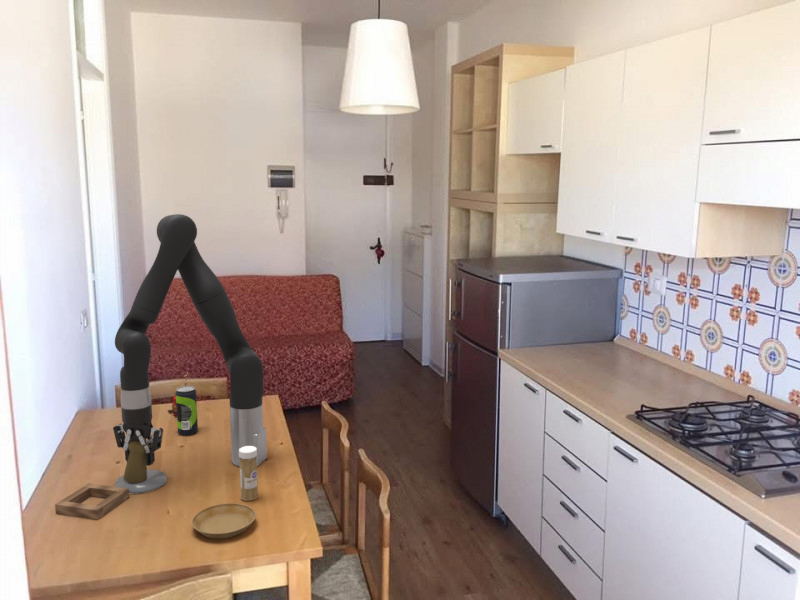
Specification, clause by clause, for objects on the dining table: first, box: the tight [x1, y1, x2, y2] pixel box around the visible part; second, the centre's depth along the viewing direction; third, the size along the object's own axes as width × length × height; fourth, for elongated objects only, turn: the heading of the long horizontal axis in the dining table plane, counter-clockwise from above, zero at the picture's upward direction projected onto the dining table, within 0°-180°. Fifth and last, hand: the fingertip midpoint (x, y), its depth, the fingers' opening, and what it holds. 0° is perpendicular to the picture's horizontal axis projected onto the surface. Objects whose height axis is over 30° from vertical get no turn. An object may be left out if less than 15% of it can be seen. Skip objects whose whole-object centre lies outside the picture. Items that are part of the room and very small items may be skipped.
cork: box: [123, 439, 149, 483], centre depth 180 cm, size 6×6×11 cm
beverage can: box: [175, 385, 199, 437], centre depth 216 cm, size 6×6×15 cm
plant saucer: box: [191, 502, 257, 540], centre depth 159 cm, size 15×15×3 cm
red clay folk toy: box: [171, 371, 190, 418], centre depth 233 cm, size 8×7×15 cm
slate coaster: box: [114, 469, 168, 495], centre depth 181 cm, size 13×13×1 cm
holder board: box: [54, 482, 130, 521], centre depth 169 cm, size 12×12×2 cm
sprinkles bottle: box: [239, 446, 259, 502], centre depth 172 cm, size 5×5×13 cm
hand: (140, 463), depth 180 cm, fingers open, 5 cm apart
